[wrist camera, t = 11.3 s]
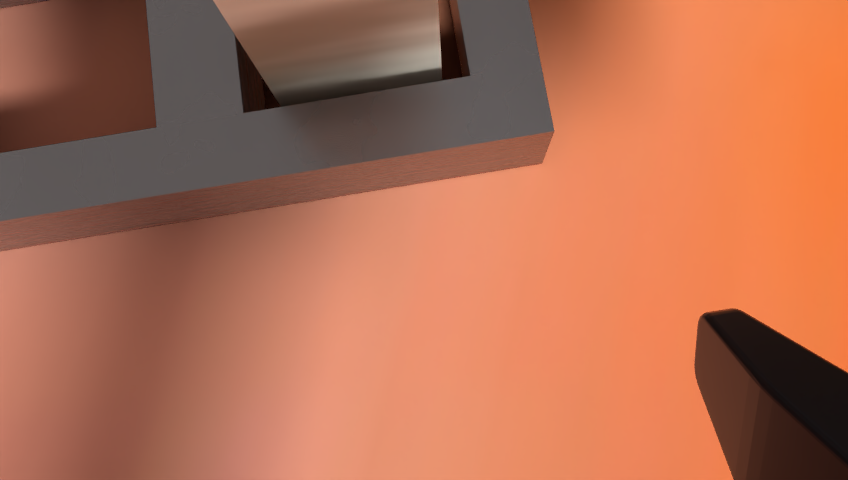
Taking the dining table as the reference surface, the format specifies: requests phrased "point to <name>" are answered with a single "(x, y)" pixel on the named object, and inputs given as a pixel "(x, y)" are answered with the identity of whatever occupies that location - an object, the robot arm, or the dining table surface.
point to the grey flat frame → (279, 132)
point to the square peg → (337, 45)
